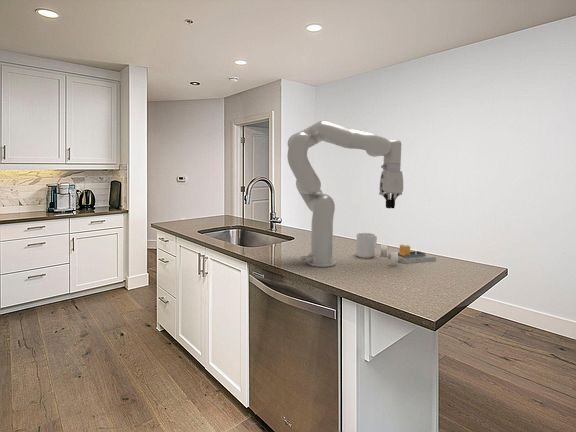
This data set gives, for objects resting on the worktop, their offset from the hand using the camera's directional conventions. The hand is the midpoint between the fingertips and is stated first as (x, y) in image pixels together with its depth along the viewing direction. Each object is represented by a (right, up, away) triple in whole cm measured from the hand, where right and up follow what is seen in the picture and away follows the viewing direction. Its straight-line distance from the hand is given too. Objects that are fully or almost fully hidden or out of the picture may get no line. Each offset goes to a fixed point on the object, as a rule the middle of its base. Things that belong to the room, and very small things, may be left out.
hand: (390, 207), depth 169 cm
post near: (0, -26, -5) cm, 26 cm away
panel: (+12, -25, +7) cm, 28 cm away
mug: (-8, -24, +13) cm, 28 cm away
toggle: (+8, -22, +5) cm, 24 cm away
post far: (+1, -24, +14) cm, 27 cm away
